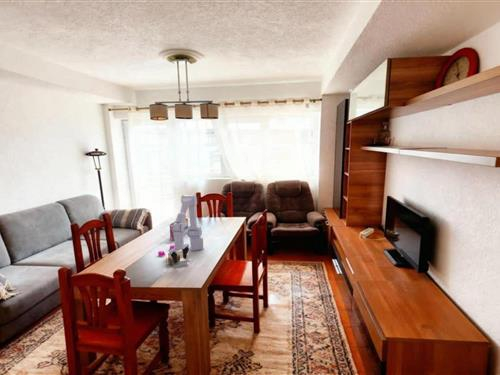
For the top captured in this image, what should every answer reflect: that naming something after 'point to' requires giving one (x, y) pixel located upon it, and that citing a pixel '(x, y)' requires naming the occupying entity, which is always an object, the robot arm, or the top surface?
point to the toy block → (160, 253)
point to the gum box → (183, 231)
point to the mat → (180, 264)
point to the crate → (177, 254)
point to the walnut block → (170, 260)
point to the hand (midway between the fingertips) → (180, 260)
